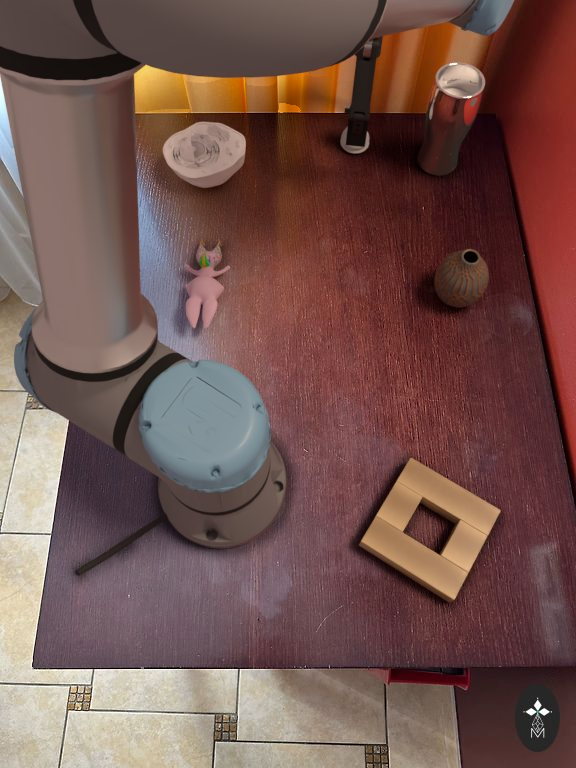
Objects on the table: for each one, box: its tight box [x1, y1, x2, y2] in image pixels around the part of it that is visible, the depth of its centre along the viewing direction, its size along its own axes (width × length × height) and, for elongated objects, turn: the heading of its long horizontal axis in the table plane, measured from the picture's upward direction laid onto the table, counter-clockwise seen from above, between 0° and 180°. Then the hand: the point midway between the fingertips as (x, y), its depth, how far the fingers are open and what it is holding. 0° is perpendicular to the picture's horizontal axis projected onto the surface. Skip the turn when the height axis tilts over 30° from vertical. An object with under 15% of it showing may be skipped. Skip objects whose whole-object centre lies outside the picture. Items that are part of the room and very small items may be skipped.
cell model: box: [162, 121, 247, 189], centre depth 100 cm, size 10×12×7 cm
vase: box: [433, 248, 490, 309], centre depth 90 cm, size 7×7×9 cm
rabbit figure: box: [184, 237, 231, 330], centre depth 92 cm, size 6×6×15 cm
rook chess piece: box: [339, 102, 370, 155], centre depth 102 cm, size 4×4×8 cm
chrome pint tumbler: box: [416, 61, 486, 177], centre depth 97 cm, size 7×7×15 cm
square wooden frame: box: [358, 457, 502, 603], centre depth 80 cm, size 12×12×2 cm
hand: (359, 108), depth 99 cm, fingers open, 13 cm apart
